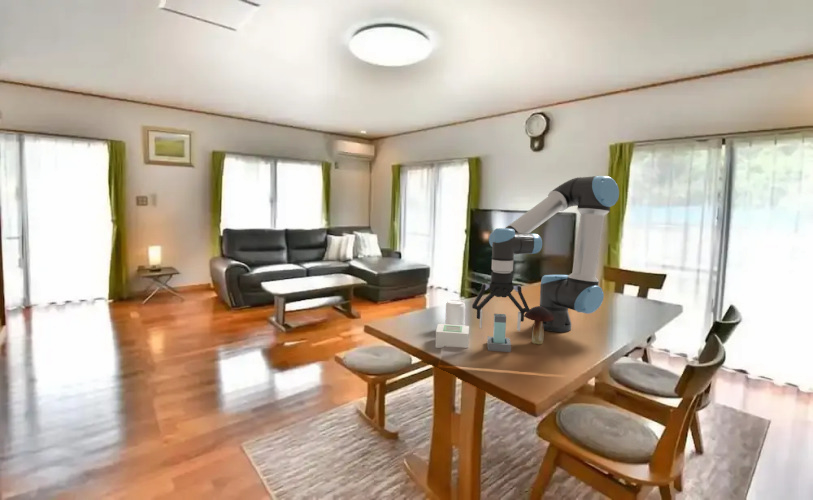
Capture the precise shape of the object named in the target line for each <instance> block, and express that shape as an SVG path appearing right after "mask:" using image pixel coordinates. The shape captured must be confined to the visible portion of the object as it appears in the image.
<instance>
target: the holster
mask: <svg viewBox="0 0 813 500" xmlns="http://www.w3.org/2000/svg"><path fill="white" fill-rule="evenodd" d="M486 343H487V351H489V352H492V351H493V352H504V353H512V352H511V351H512V343H511V339H510V337H505V344H504V343H493V336H491V335H490V336H489V335H487V341H486Z"/></svg>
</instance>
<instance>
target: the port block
mask: <svg viewBox="0 0 813 500" xmlns="http://www.w3.org/2000/svg"><path fill="white" fill-rule="evenodd" d="M469 339H470V325H465V326H464V325H449V324H445V323H438V324H437V327H436V330H435V349H436V348H438V349H439V348H440V349H444V347H448V348H465V349H469V342H470V341H469Z"/></svg>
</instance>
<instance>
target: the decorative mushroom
mask: <svg viewBox="0 0 813 500" xmlns="http://www.w3.org/2000/svg"><path fill="white" fill-rule="evenodd" d="M529 309H530V311H529V312H525V313H524V318H526V319H528V320H531V321H534V322H533V327H532V333H531V334H532V335H531V342H532V344H534V345H542V344H543V343H544V339H545V338H544V335H545V334H544V333H545V332H544V331H545V330H544V329H543V321H553V320H554V317H553V315H552V313H551V312H550V311H548V310H547V309H545V308H543V307H541V306H540V305H537V306H533V307H531V308H529Z"/></svg>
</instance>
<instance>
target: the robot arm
mask: <svg viewBox="0 0 813 500" xmlns="http://www.w3.org/2000/svg"><path fill="white" fill-rule="evenodd" d="M619 196H620V189H619V186H618V183H616V180H615V179H613V178H612V177H610V176H607V175H595V176H583V177H581V176H580V177H574V178H571V179H569V180H567V181H565V182H563V183H562V184H559V185H558V186H557V187H555V188H554V189H553V190H551V191H549V192H548V195H547V197H546V198H544V199H542V200H541V201H540V202H538V203H537V204H536V205H534V206H533V207H532V208H531V209H529V210H528V211H526V212H525V213H524V214H522V215H521V216H519V217H518V218H516V220H514V221H513V222H512V223H510V224H508V225H507V226H505V227H503V228H501V227H500V228H499V227H498V228H494V230H493V231H492V232H491V233H490V234H489V236H488V243H489V245H490V247H492V250H491V252H492V253H491V254H492V255H491V273H490V284H489V283H485V282H483V283H482V285H481V289H480V290H479V293H478V294H477V296H476V298H475V299H474V302H472V304H471V308H472V309H474V310H476V319H477V320H479V329H482V328H483V308H484V307H485V306H486V305H487V304H488V303H489V302H490V301H491V300H492V299H493V298H494V297H496V298H509V300H511V303H513V304H514V306H515V307H516V308H517V309H518V310H519V311H517V325H516V326H517V327H516V328H517V331H518V332H521V322H524V321H525V317H524V315H525V313H526V312H529V311H530V309H531V308H529V305H528V303H527V300H526V299H525V296H524V294H523V292H522V286H521V285H520V284H517V285H514V284H513V277H514V276H513V275H514V274H513V271H514V258H515V256H514V255H532V254H538V253H539V252H540V251H541V250H542V247H543V239H542V237H541V236H540V235H539V234H538V233H532V232H533V231H534V230H535V229H537V228H538V227H539V226H541V225H543V224H544V223H545V222H546V221H548V220H549V219H550V218H552V217H553V216H554V215H556V214H557V213H558V212H563V211H566V209H569V208H571V207H577V208H576V210H577V211H578V212H579V213H580V215H579V216H580V217H579V223H578V224H579V225H578V229H577V230H578V232H577V238H576V244H575V245H576V246H575V252H574V258H573V267H572V273H569V274H544V275H543V276H542V277H541V281H540V284H539V285H540V291H539V293H540V294H539V306H541V307H543V308H545V309H547V310H548V311H550V312H551V313H552V315H553V317H554V320H553V321H543V329H544V331H548V332H554V333H555V332H556V333H566V332H569V331H571V330H572V321H571V317H570V314H569V309H570V310H572V311H575V312H577V313H581V314H582V313H583V314H593V313H594V312H596V311H597V310H598V309H599V308H600V307H601V305H602V303H603V301H604V298H605V297H604V295H605V294H604V291H603V289H602V287H600V286H599V282H600V280H599V279H598V278H597V276H596V275H597V268H598V261H599V254H600V247H601V239H602V233H603V229H604V227H603V226H604V221H605V216H606V215H607V214H608V213H610V210H611V207H613V206H615V204H616V203H618V200H619ZM488 289H489V290H490V292H489V293H488V295H486V297H485V298H484V299H483V300H482V301H481V299H482V296H483V295H484V293H485V291H487V290H488ZM513 290H515V292H517V294H518V297H519V298H520V300H521V302H522V305H523V306H522V305H521V304H520V303H519V302H518V300H517V299H516V298H515V297H514V295H513V294H512V292H513ZM480 301H481V302H480ZM479 302H480V303H479ZM523 307H524V308H523Z"/></svg>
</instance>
